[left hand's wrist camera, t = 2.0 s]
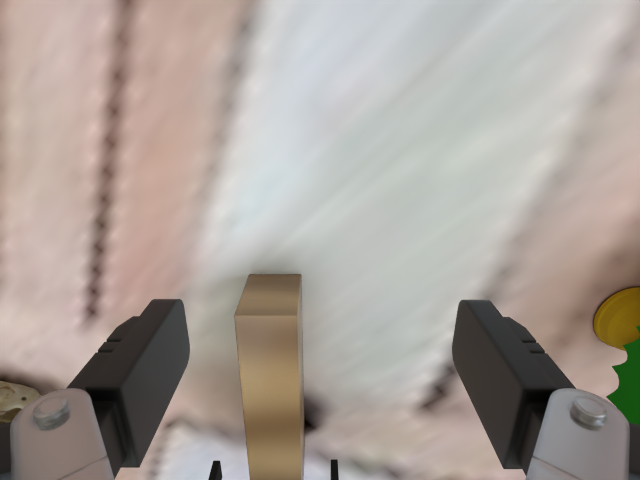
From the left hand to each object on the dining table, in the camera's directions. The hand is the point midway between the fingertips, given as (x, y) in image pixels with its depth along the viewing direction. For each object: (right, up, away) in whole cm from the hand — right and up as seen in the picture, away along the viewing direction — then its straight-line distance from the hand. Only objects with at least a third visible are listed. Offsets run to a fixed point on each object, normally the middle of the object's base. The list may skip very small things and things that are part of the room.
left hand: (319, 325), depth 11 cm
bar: (-5, -13, +36) cm, 39 cm away
